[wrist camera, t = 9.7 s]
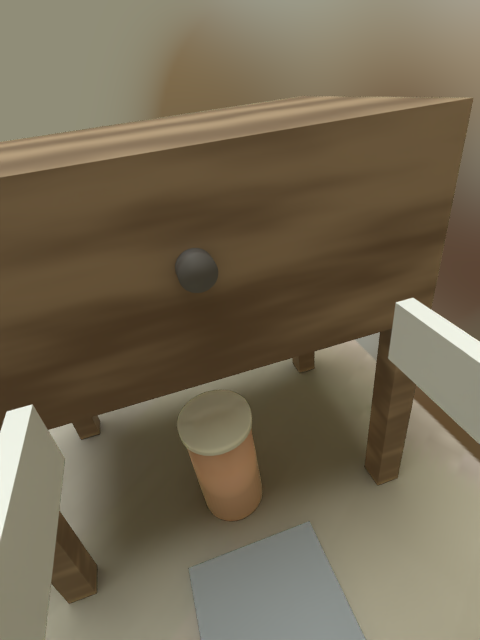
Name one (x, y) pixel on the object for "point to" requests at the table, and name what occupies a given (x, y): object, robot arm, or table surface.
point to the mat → (273, 592)
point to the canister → (222, 452)
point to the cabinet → (218, 257)
